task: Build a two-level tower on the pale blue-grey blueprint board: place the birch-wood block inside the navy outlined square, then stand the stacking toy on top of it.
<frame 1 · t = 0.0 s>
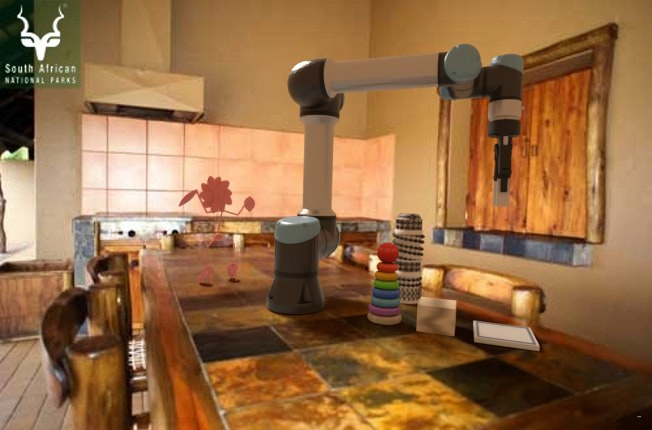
hand: (500, 206, 99), 28 cm above the table, tool pointing down, fingers open, 13 cm apart
blueprint board: (503, 336, 85), on the table
figurine: (214, 280, 133), on the table
stacking toy: (384, 321, 94), on the table
birch block: (436, 328, 90), on the table
decorative candle: (406, 300, 114), on the table
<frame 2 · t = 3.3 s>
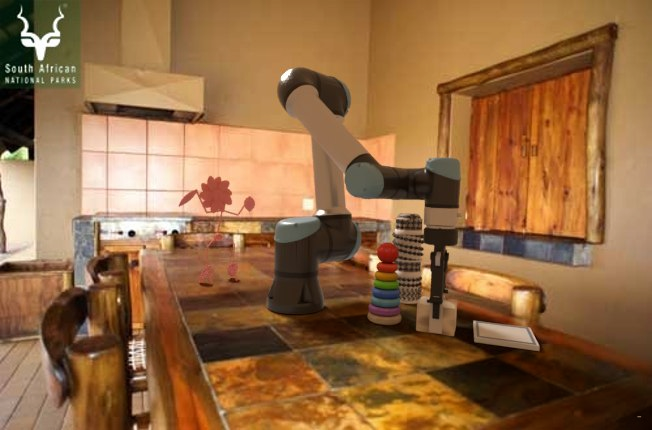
hand: (436, 326, 90), 0 cm above the table, tool pointing down, fingers closed on birch block, 8 cm apart
birch block: (436, 327, 90), on the table, touching gripper
everything else where it was.
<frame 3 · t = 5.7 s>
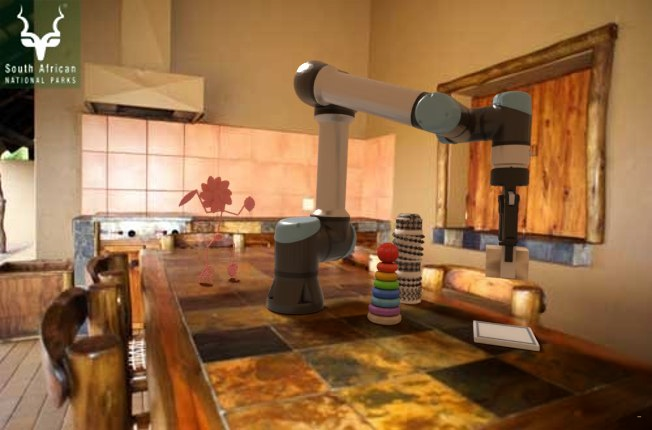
hand: (505, 273, 85), 14 cm above the table, tool pointing down, fingers closed on birch block, 8 cm apart
birch block: (505, 275, 85), point 13 cm above the table, touching gripper
everything else where it was.
when the fingers open (2 cm above the table, at t = 8.3 s): birch block stays where it is, resting on blueprint board.
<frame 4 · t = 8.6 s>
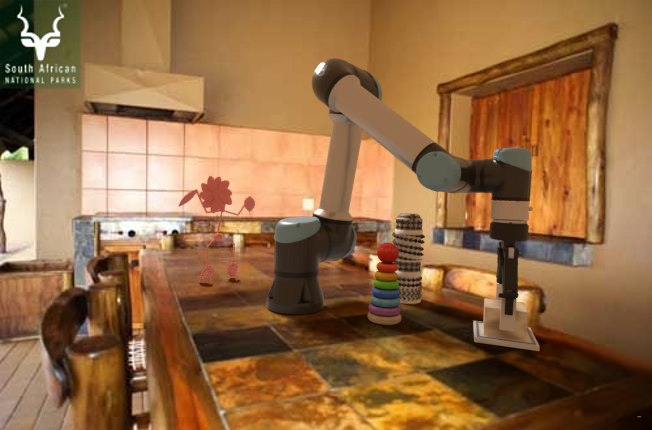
hand: (504, 320, 85), 4 cm above the table, tool pointing down, fingers open, 12 cm apart
birch block: (503, 332, 85), point 1 cm above the table, touching blueprint board
everything else where it was.
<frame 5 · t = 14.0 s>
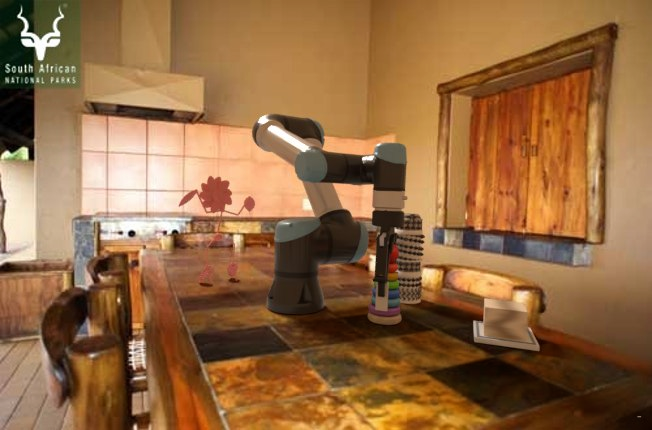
hand: (384, 305, 94), 4 cm above the table, tool pointing down, fingers closed on stacking toy, 7 cm apart
stacking toy: (384, 321, 94), on the table, touching gripper
everything else where it was.
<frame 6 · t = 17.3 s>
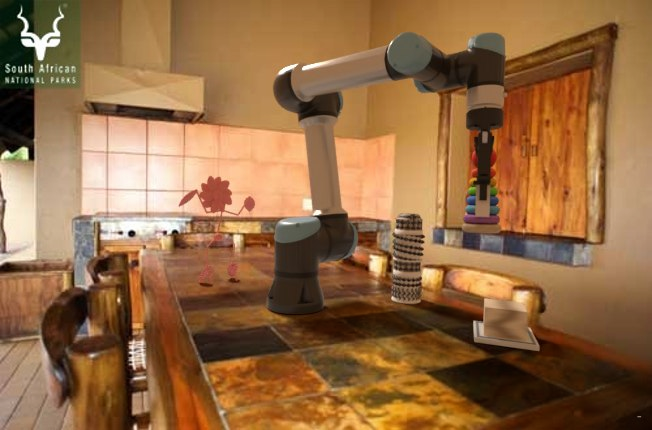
hand: (481, 216, 86), 26 cm above the table, tool pointing down, fingers closed on stacking toy, 7 cm apart
stacking toy: (481, 233, 86), point 22 cm above the table, touching gripper
everything else where it was.
when the fingers open (12 cm above the table, at t = 20.7 s): stacking toy drops 1 cm, resting on birch block.
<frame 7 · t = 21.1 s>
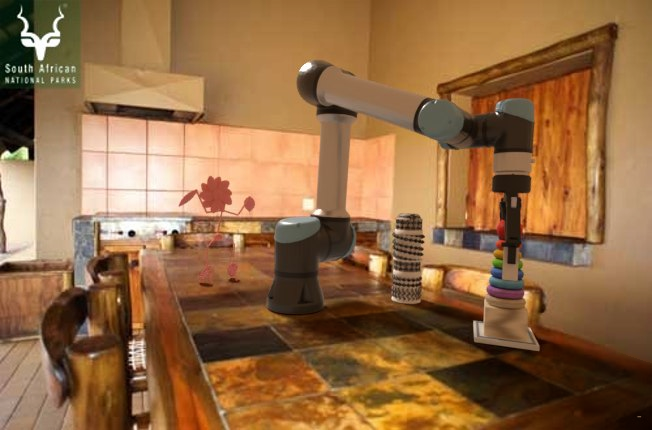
hand: (506, 274, 85), 14 cm above the table, tool pointing down, fingers open, 13 cm apart
stacking toy: (504, 305, 85), point 7 cm above the table, touching birch block
birch block: (503, 332, 85), point 1 cm above the table, touching blueprint board, stacking toy
everything else where it was.
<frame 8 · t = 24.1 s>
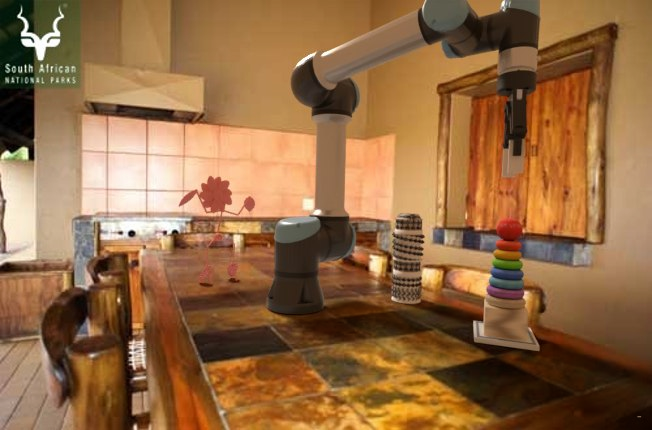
hand: (511, 175, 84), 35 cm above the table, tool pointing down, fingers open, 13 cm apart
nothing on the table moved.
at the end: birch block 0.0 cm off-centre on the blueprint board, point 1.0 cm above the blueprint board's base; stacking toy 0.0 cm off-centre on the birch block, point 5.8 cm above the birch block's base; stacking toy tilted 0° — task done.
